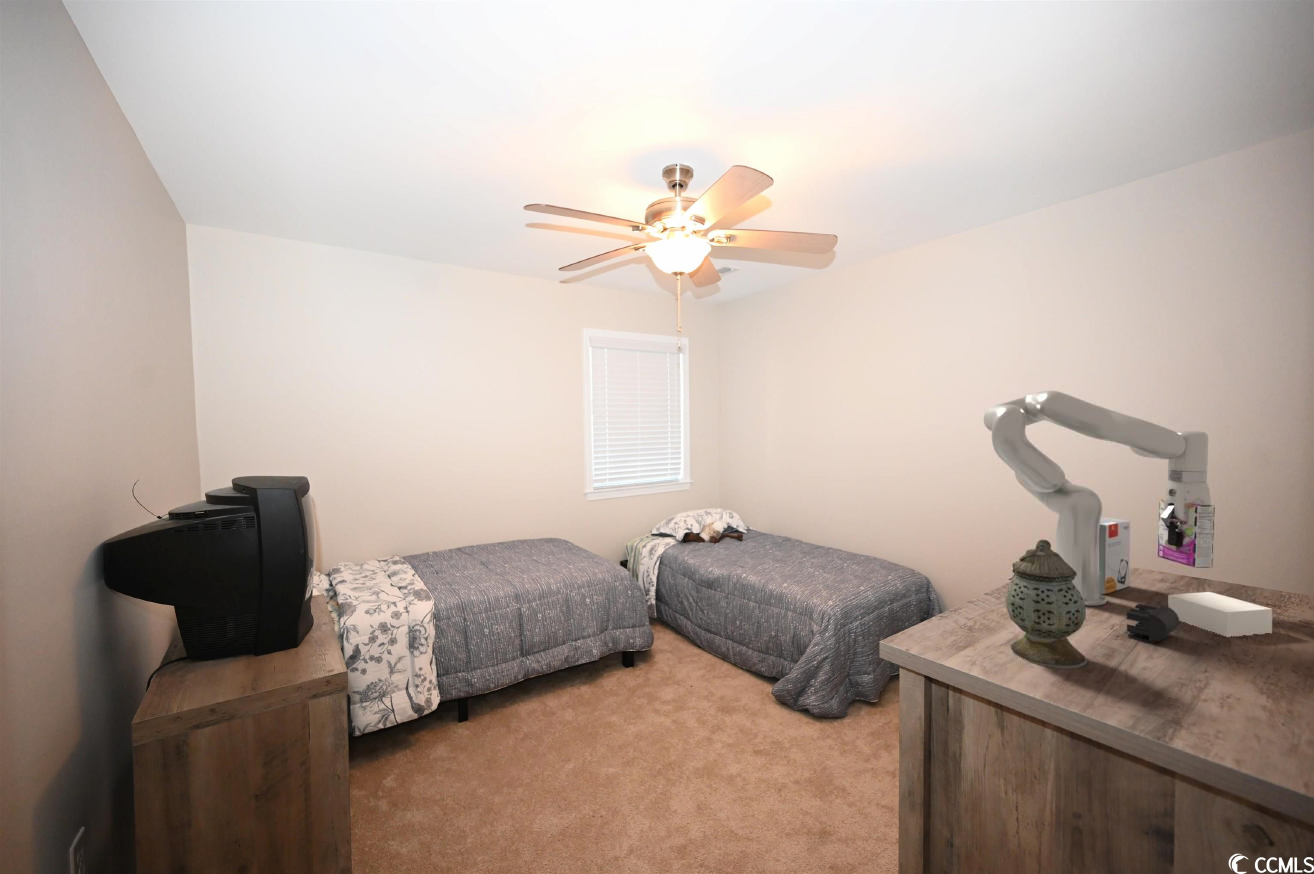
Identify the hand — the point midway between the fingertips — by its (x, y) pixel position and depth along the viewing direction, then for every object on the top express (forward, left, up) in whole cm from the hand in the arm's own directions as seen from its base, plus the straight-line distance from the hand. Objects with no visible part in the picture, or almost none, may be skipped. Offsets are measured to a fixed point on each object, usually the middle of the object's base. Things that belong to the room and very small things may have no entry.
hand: (1184, 544), depth 149 cm
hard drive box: (-5, +18, -16) cm, 25 cm away
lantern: (-61, -15, -16) cm, 65 cm away
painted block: (-8, -13, -17) cm, 23 cm away
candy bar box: (0, 0, -5) cm, 5 cm away
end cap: (-30, -14, -17) cm, 37 cm away
